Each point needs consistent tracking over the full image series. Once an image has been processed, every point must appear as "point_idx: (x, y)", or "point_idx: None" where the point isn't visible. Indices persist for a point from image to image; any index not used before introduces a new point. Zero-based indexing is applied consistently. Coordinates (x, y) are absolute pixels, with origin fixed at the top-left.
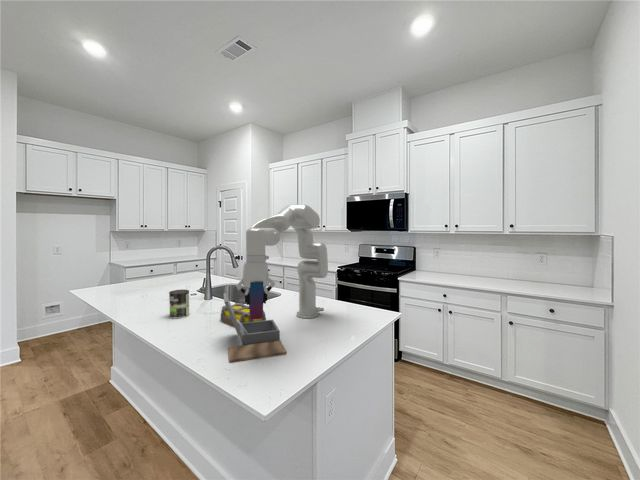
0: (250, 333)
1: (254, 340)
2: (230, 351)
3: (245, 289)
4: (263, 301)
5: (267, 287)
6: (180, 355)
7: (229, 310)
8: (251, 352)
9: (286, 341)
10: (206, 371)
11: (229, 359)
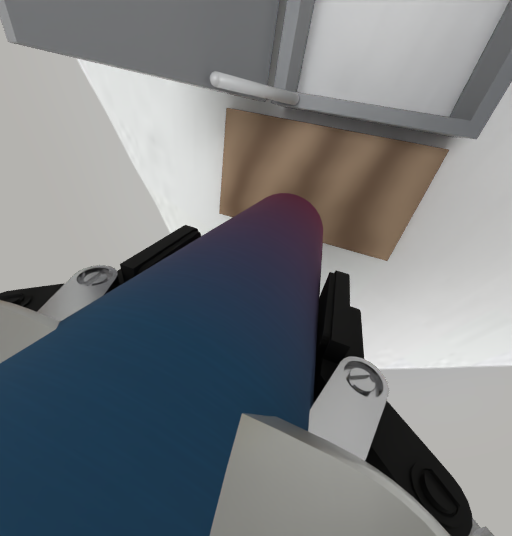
0: (313, 95)
1: (330, 114)
2: (230, 153)
3: (57, 313)
4: (320, 299)
5: (387, 473)
6: (98, 74)
7: (119, 67)
8: None
9: (483, 150)
10: (175, 222)
11: (220, 209)
